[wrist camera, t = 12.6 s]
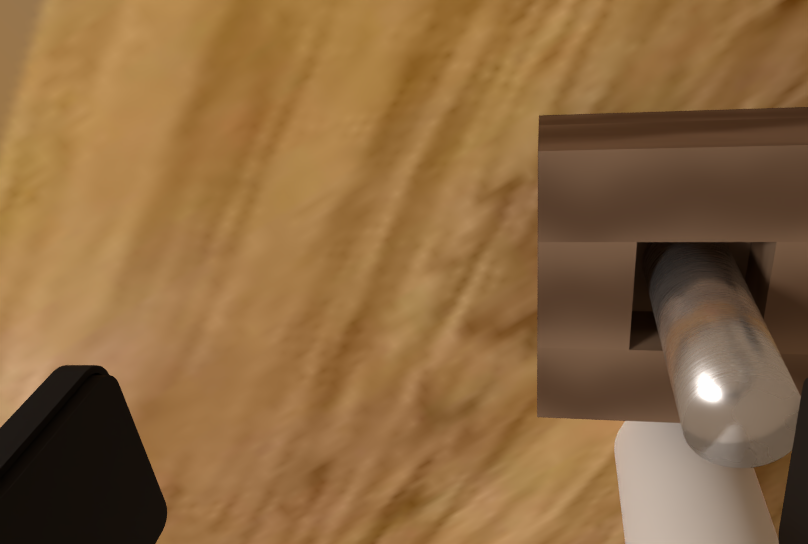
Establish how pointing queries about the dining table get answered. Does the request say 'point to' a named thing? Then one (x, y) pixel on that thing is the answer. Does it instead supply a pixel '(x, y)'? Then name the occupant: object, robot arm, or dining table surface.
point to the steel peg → (720, 356)
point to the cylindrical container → (684, 492)
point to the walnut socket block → (660, 222)
